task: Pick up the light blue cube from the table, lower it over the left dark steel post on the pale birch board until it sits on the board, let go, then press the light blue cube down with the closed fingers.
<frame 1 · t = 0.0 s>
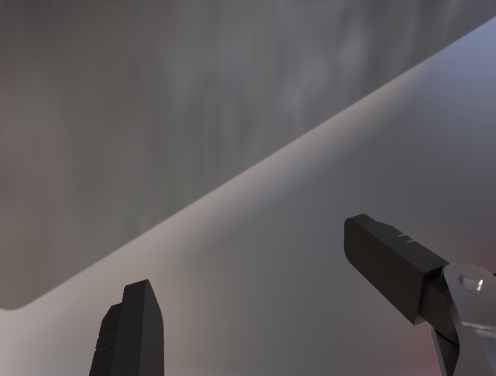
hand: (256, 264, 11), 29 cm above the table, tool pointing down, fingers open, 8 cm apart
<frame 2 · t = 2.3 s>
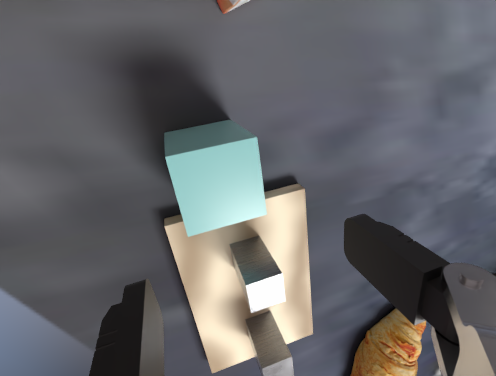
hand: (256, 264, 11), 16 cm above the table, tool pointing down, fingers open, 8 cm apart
croissant: (377, 339, 45), on the table
light blue cube: (204, 157, 24), on the table
birch board: (249, 281, 32), on the table
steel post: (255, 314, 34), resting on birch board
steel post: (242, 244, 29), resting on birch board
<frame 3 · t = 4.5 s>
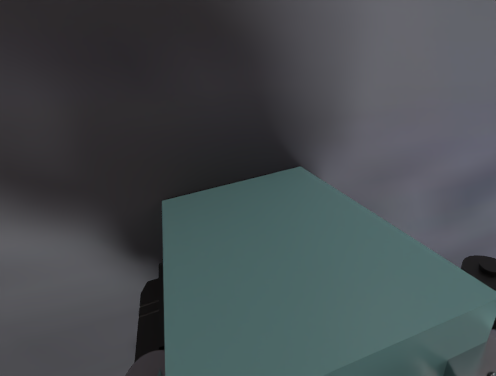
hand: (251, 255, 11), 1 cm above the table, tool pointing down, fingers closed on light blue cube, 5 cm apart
light blue cube: (245, 241, 12), on the table, touching gripper
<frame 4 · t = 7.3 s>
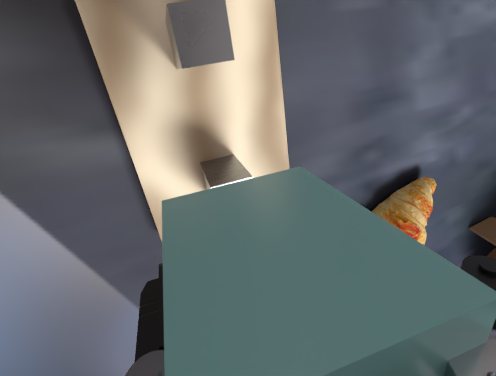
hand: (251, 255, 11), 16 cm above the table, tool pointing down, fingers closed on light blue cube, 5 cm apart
croissant: (372, 238, 38), on the table
light blue cube: (245, 241, 12), point 15 cm above the table, touching gripper
birch board: (205, 113, 24), on the table
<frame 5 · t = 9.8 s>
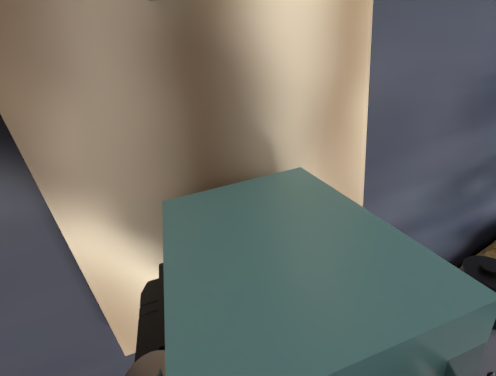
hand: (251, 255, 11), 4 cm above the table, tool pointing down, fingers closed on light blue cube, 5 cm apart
light blue cube: (245, 241, 12), point 3 cm above the table, touching gripper
birch board: (212, 109, 12), on the table
when the fingers open (3 cm above the table, at t = 10.7 s): light blue cube stays where it is, resting on birch board.
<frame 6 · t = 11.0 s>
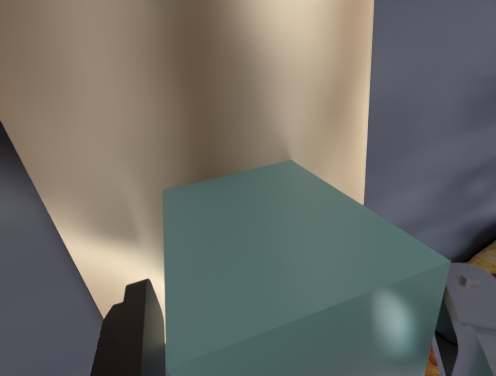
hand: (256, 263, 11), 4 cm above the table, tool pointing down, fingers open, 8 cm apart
croissant: (453, 300, 25), on the table
light blue cube: (240, 230, 13), point 1 cm above the table, touching birch board
birch board: (211, 110, 12), on the table
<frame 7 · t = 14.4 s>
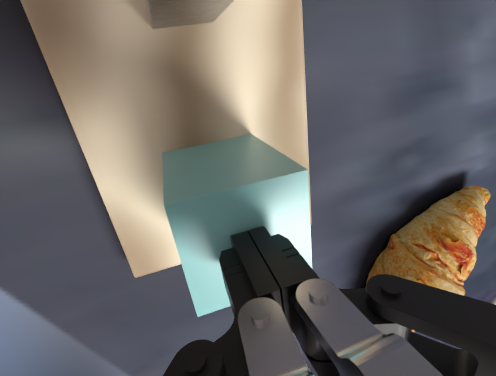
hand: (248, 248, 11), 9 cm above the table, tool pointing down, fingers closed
croissant: (401, 259, 30), on the table
light blue cube: (216, 184, 18), point 1 cm above the table, touching birch board, gripper
birch board: (196, 99, 17), on the table
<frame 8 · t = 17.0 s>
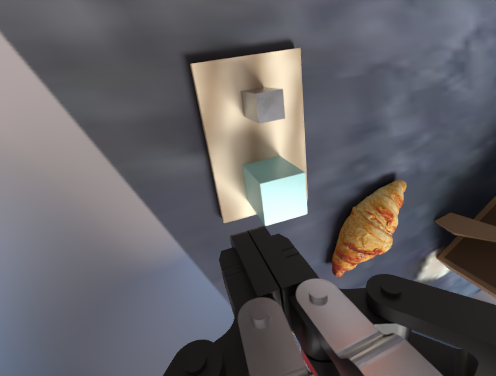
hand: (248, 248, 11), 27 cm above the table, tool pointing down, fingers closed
croissant: (360, 223, 51), on the table
photo frame: (464, 215, 60), on the table
light blue cube: (263, 178, 39), point 1 cm above the table, touching birch board
birch board: (255, 140, 39), on the table
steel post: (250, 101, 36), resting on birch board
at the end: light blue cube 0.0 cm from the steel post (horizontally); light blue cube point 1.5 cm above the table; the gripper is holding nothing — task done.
